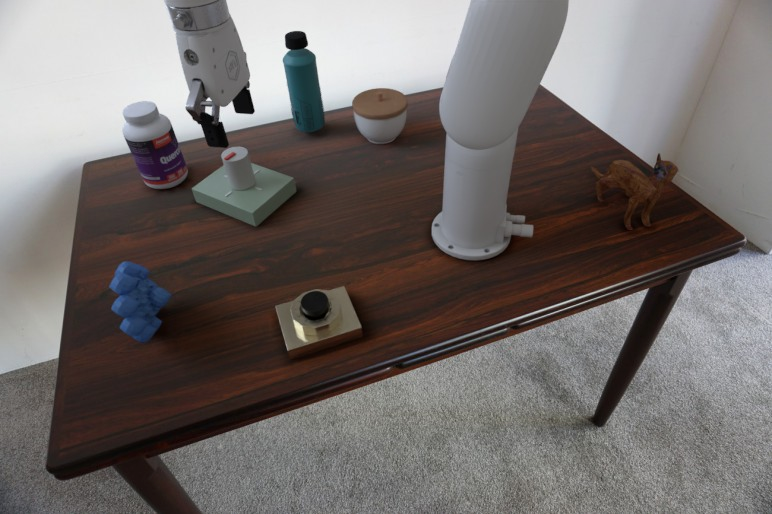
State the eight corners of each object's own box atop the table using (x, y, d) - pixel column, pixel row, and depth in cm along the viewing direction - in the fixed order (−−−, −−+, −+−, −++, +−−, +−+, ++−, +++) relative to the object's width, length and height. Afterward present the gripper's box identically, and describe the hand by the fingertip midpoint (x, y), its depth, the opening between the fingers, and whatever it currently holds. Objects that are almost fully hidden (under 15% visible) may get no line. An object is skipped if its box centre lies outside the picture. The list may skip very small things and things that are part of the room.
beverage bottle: (332, 127, 109) (321, 30, 95) (313, 142, 105) (297, 43, 91) (308, 119, 111) (293, 24, 97) (288, 134, 108) (269, 36, 94)
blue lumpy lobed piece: (184, 356, 69) (152, 296, 60) (131, 368, 68) (91, 309, 59) (186, 292, 77) (158, 232, 69) (138, 302, 76) (104, 242, 68)
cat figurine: (573, 176, 94) (591, 106, 84) (606, 170, 95) (628, 100, 85) (628, 241, 81) (657, 168, 72) (666, 234, 82) (700, 160, 73)
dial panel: (296, 191, 94) (293, 177, 91) (256, 227, 87) (252, 212, 85) (238, 170, 99) (234, 156, 97) (196, 202, 92) (190, 187, 90)
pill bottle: (176, 194, 94) (148, 123, 84) (137, 189, 96) (104, 119, 86) (197, 168, 100) (172, 98, 90) (159, 164, 101) (130, 95, 91)
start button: (325, 296, 71) (323, 287, 70) (332, 315, 68) (331, 306, 67) (299, 303, 70) (297, 295, 69) (306, 323, 68) (304, 315, 66)
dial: (241, 172, 93) (233, 142, 89) (260, 179, 91) (253, 148, 87) (224, 186, 90) (215, 155, 86) (243, 193, 89) (235, 162, 84)
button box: (345, 295, 75) (343, 276, 73) (363, 337, 70) (360, 318, 67) (277, 315, 73) (272, 297, 70) (290, 360, 68) (284, 342, 65)
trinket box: (408, 149, 102) (408, 106, 95) (353, 151, 102) (349, 107, 96) (407, 121, 109) (407, 79, 103) (356, 122, 110) (353, 80, 103)
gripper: (194, 40, 61) (231, 162, 73) (251, -9, 73) (275, 103, 85) (137, 38, 63) (183, 158, 75) (203, -10, 75) (233, 100, 87)
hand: (232, 128), depth 80 cm, fingers open, 9 cm apart
